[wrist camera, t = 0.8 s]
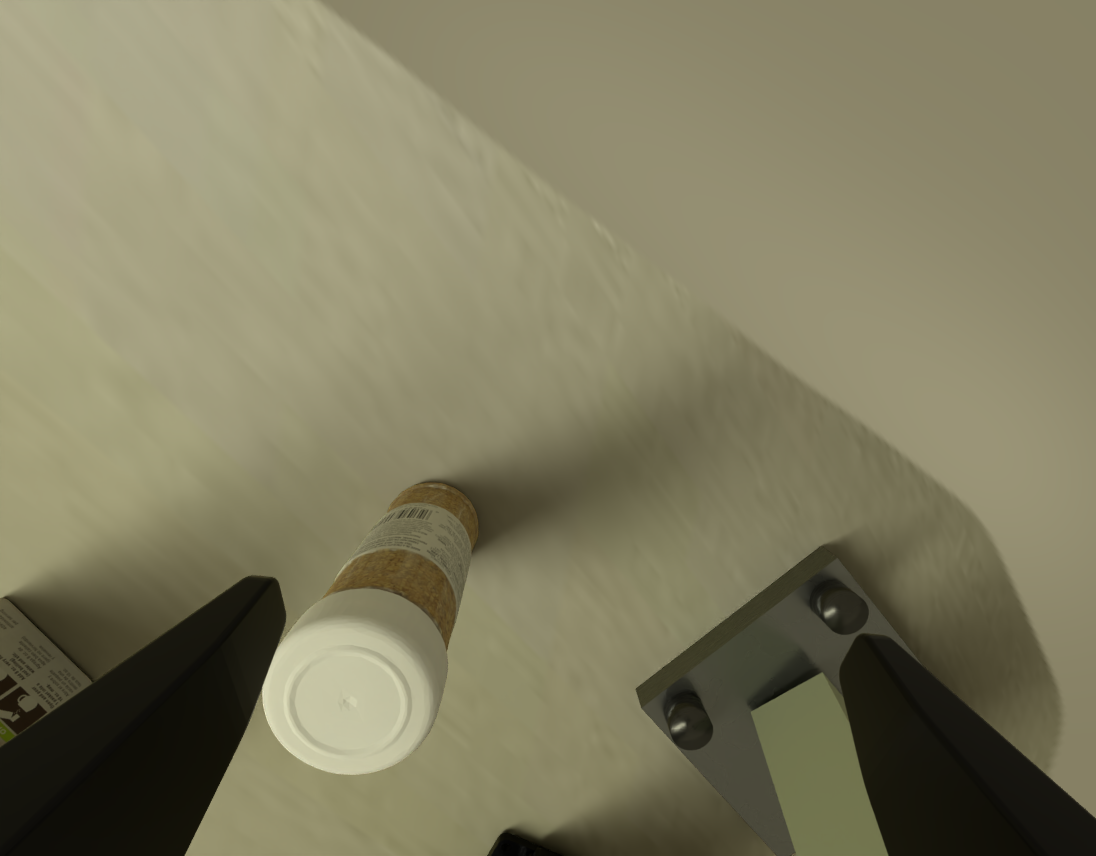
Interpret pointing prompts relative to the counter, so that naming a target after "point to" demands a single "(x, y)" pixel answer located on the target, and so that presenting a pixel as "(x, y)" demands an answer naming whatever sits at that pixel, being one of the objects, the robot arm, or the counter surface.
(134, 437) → the counter surface
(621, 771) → the counter surface
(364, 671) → the sprinkles bottle
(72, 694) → the coffee box
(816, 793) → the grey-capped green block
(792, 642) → the plate
